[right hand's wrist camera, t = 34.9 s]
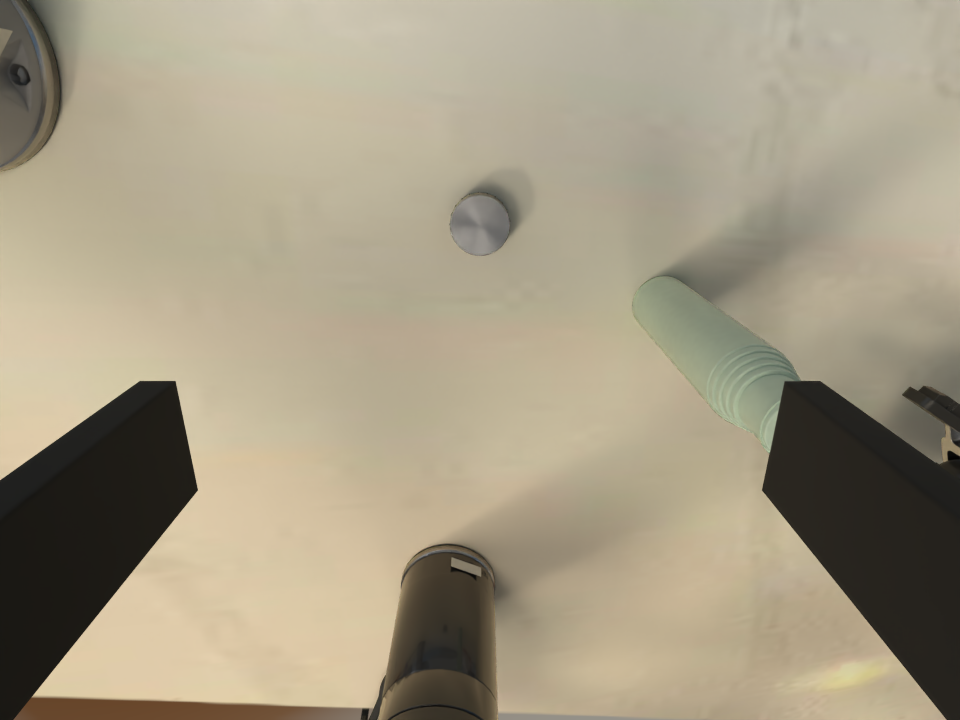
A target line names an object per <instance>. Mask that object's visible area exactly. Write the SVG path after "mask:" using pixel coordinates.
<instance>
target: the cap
mask: <svg viewBox="0 0 960 720" xmlns="http://www.w3.org/2000/svg"><path fill="white" fill-rule="evenodd" d="M507 213H508V211H507V210H506V209H505V207H504V205H503V203H502V202H500V201H499V200H498V199H497V198H496V197H494V196H492V195H490V194H488V193H487V194H486V193H479V192H478V193H474V194H469V195H468V196H466V197H464V198H462V199H461V201H460V202H459V203H458V204H457V205H455V209H454V211H453V213H452V214H451V216H452V217H451V221H450V230H451V234H452V237H453V239H454V241H455V243H456V244H457V245H458V246H459V247H460V248H461V249H462V250H463V251H465V252H467V253H469V254H472V255H477V256H484V255H488V254H491V253H493V252H495V251H497V250H498V249H499V248H500V247H501V246H502V245H503V244H504V243H505V241H506V239H507V237H508V234H509V231H510V219H509V217H508V214H507Z"/></svg>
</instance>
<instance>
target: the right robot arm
mask: <svg viewBox="0 0 960 720" xmlns="http://www.w3.org/2000/svg"><path fill="white" fill-rule="evenodd" d="M59 97H60V86H59V75H58V69H57V64H56V60H55V56H54V53H53V50H52V46H51V44H50V41H49V39H48V36H47V34H46V32H45V30H44V28H43V26H42V24H41V22H40V20H39V19H38V17H37V15H36V14H35V12H34V10H33V9H32V8H31V6H30V5H29V3H28V2H27V0H0V172H1V171H6V170H9V169H12V168H15V167H17V166H19V165H21V164H23V163H24V162H26V161H27V160H29V159H30V158H31V157H33V156H34V155H35V154H36V153H37V152H38V151H39V150H40V149H41V148H42V146H43V145H44V144H45V142H46V141H47V139H48V137H49V135H50V134H51V132H52V129H53V127H54V124H55V121H56V117H57V114H58V108H59ZM197 491H198V488H197V484H196V479H195V474H194V469H193V464H192V459H191V454H190V450H189V445H188V440H187V435H186V430H185V425H184V420H183V415H182V411H181V406H180V401H179V396H178V391H177V386H176V381H139V382H138V383H137V384H135V385H134V386H132V387H131V388H130V389H128V390H127V391H125V392H124V393H122V394H121V395H120V396H118V397H117V398H115V399H114V400H113V401H111V402H110V403H108V404H107V405H106V406H104V407H103V408H101V409H100V410H99V411H97V412H96V413H94V414H93V415H92V416H90V417H89V418H87V419H86V420H84V421H83V422H82V423H80V424H79V425H77V426H76V427H75V428H73V429H72V430H70V431H69V432H68V433H66V434H65V435H63V436H62V437H61V438H59V439H58V440H56V441H55V442H54V443H52V444H51V445H49V446H48V447H46V448H45V449H44V450H42V451H41V452H39V453H38V454H37V455H35V456H34V457H32V458H31V459H30V460H28V461H27V462H25V463H24V464H23V465H21V466H20V467H18V468H17V469H15V470H14V471H13V472H11V473H10V474H8V475H7V476H6V477H4V478H3V479H1V480H0V720H13V719H14V718H15V717H16V716H17V714H18V713H19V712H20V711H21V709H22V708H23V707H24V706H25V704H26V703H27V702H28V701H29V700H30V698H31V697H32V696H33V695H34V693H35V692H36V691H37V690H38V688H39V687H40V686H41V685H42V683H43V682H44V681H45V680H46V678H47V677H48V676H49V675H50V673H51V672H52V671H53V670H54V668H55V667H56V666H57V665H58V663H59V662H60V661H61V660H62V659H63V657H64V656H65V655H66V654H67V652H68V651H69V650H70V649H71V647H72V646H73V645H74V644H75V642H76V641H77V640H78V639H79V637H80V636H81V635H82V634H83V632H84V631H85V630H86V629H87V627H88V626H89V625H90V624H91V622H92V621H93V620H94V619H95V618H96V616H97V615H98V614H99V613H100V611H101V610H102V609H103V608H104V606H105V605H106V604H107V603H108V601H109V600H110V599H111V598H112V596H113V595H114V594H115V593H116V591H117V590H118V589H119V588H120V586H121V585H122V584H123V583H124V581H125V580H126V579H127V578H128V576H129V575H130V574H131V573H132V572H133V570H134V569H135V568H136V567H137V565H138V564H139V563H140V562H141V560H142V559H143V558H144V557H145V555H146V554H147V553H148V552H149V550H150V549H151V548H152V547H153V545H154V544H155V543H156V542H157V540H158V539H159V538H160V537H161V535H162V534H163V533H164V532H165V531H166V529H167V528H168V527H169V526H170V524H171V523H172V522H173V521H174V519H175V518H176V517H177V516H178V514H179V513H180V512H181V511H182V509H183V508H184V507H185V506H186V504H187V503H188V502H189V501H190V499H191V498H192V497H193V496H194V494H195V493H196V492H197ZM762 491H763V492H764V493H765V494H766V496H767V497H768V498H769V499H770V501H771V502H772V503H773V504H774V506H775V507H776V508H777V509H778V511H779V512H780V513H781V514H782V516H783V517H784V518H785V519H786V521H787V522H788V523H789V524H790V526H791V527H792V528H793V529H794V531H795V532H796V533H797V534H798V535H799V537H800V538H801V539H802V540H803V542H804V543H805V544H806V545H807V547H808V548H809V549H810V550H811V552H812V553H813V554H814V555H815V557H816V558H817V559H818V560H819V562H820V563H821V564H822V565H823V567H824V568H825V569H826V570H827V572H828V573H829V574H830V575H831V576H832V578H833V579H834V580H835V581H836V583H837V584H838V585H839V586H840V588H841V589H842V590H843V591H844V593H845V594H846V595H847V596H848V598H849V599H850V600H851V601H852V603H853V604H854V605H855V606H856V608H857V609H858V610H859V611H860V613H861V614H862V615H863V616H864V618H865V619H866V620H867V621H868V622H869V624H870V625H871V626H872V627H873V629H874V630H875V631H876V632H877V634H878V635H879V636H880V637H881V639H882V640H883V641H884V642H885V644H886V645H887V646H888V647H889V649H890V650H891V651H892V652H893V654H894V655H895V656H896V657H897V659H898V660H899V661H900V662H901V663H902V665H903V666H904V667H905V668H906V670H907V671H908V672H909V673H910V675H911V676H912V677H913V678H914V680H915V681H916V682H917V683H918V685H919V686H920V687H921V688H922V690H923V691H924V692H925V693H926V695H927V696H928V697H929V698H930V700H931V701H932V702H933V703H934V705H935V706H936V707H937V708H938V709H939V711H940V712H941V713H942V714H943V716H944V717H945V718H946V719H947V720H960V480H959V479H957V478H956V477H954V476H953V475H952V474H950V473H949V472H947V471H946V470H945V469H943V468H942V467H940V466H939V465H937V464H936V463H935V462H933V461H932V460H930V459H929V458H928V457H926V456H925V455H923V454H922V453H921V452H919V451H918V450H916V449H915V448H914V447H912V446H911V445H909V444H908V443H906V442H905V441H904V440H902V439H901V438H899V437H898V436H897V435H895V434H894V433H892V432H891V431H890V430H888V429H887V428H885V427H884V426H883V425H881V424H880V423H878V422H877V421H876V420H874V419H873V418H871V417H870V416H868V415H867V414H866V413H864V412H863V411H861V410H860V409H859V408H857V407H856V406H854V405H853V404H852V403H850V402H849V401H847V400H846V399H845V398H843V397H842V396H840V395H839V394H838V393H836V392H835V391H833V390H832V389H830V388H829V387H828V386H826V385H825V384H823V383H822V382H821V381H784V386H783V391H782V396H781V401H780V406H779V411H778V415H777V420H776V425H775V430H774V435H773V440H772V445H771V450H770V454H769V459H768V464H767V469H766V474H765V479H764V484H763V488H762Z"/></svg>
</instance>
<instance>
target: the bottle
mask: <svg viewBox="0 0 960 720" xmlns="http://www.w3.org/2000/svg"><path fill="white" fill-rule="evenodd" d="M632 310H633V314H634V317H635V319H636V321H637V322H638V323H639V324H640V326H641V327H642V328H643V329H644V330H645V331H646V333H647V334H648V335H649V336H650V337H651V338H652V340H653V341H654V342H655V343H656V344H657V345H658V347H659V348H660V349H661V350H662V351H663V352H664V353H665V355H666V356H667V357H668V358H669V359H670V360H671V362H672V363H673V364H674V365H675V366H676V367H677V369H678V370H679V371H680V372H681V373H682V374H683V375H684V377H685V378H686V379H687V380H688V381H689V382H690V384H691V385H692V386H693V387H694V388H695V389H696V391H697V392H698V393H699V394H700V395H701V396H702V397H703V399H704V400H705V401H706V402H707V403H708V404H709V406H710V407H711V408H712V409H713V410H714V411H715V412H716V413H717V414H718V415H719V416H721V417H722V418H723V419H724V420H726V421H728V422H730V423H732V424H734V425H736V426H738V427H740V428H742V429H744V430H746V431H748V432H751V433H753V434H754V435H755V436H756V437H757V438H758V439H759V440H760V441H761V444H762V446H763V448H764V449H765V450H766V451H767V452H768V453H769V454H770V450H771V445H772V440H773V435H774V430H775V425H776V420H777V415H778V411H779V406H780V401H781V396H782V391H783V386H784V381H801V380H800V378H799V376H798V375H797V373H796V371H795V369H794V368H793V366H792V364H791V363H790V362H789V360H788V359H787V358H786V357H785V356H784V355H783V354H782V353H781V352H780V351H778V350H777V349H775V348H774V347H773V346H771V345H770V344H768V343H767V342H766V341H764V340H763V339H761V338H760V337H758V336H757V335H756V334H754V333H753V332H751V331H750V330H749V329H747V328H746V327H744V326H743V325H742V324H740V323H739V322H737V321H736V320H734V319H733V318H732V317H730V316H729V315H727V314H726V313H725V312H723V311H722V310H720V309H719V308H717V307H716V306H715V305H713V304H712V303H710V302H709V301H708V300H706V299H705V298H703V297H702V296H700V295H699V294H698V293H696V292H695V291H693V290H692V289H691V288H689V287H688V286H686V285H685V284H684V283H682V282H681V281H679V280H678V279H675V278H673V277H668V276H660V277H656V278H653V279H650V280H649V281H647V282H646V283H644V284H643V285H642V286H641V287H640V288H639V289H638V291H637V292H636V294H635V296H634V299H633V305H632Z"/></svg>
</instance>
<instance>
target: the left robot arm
mask: <svg viewBox="0 0 960 720" xmlns="http://www.w3.org/2000/svg"><path fill="white" fill-rule="evenodd" d="M902 395H903V396H904V397H906V398H907V399H909V400H910V401H912V402H913V403H914V404H916V405H917V406H919V407H920V408H922V409H923V410H925V411H926V412H928V413H929V414H930V415H932V416H933V417H935V418H936V419H938V420H939V421H941V422H943V423H944V424H945V432H946V437H943V438H942V439H941V446H942V457H943V463H941V464H940V465H939V464H938V463H936V464H937V465H939V466H940V467H942V468H943V469H945V470H946V471H947V472H949V473H950V474H952V475H953V476H954V477H956V478H957V479H959V480H960V405H959V404H958V403H957V402H955V401H954V400H952V399H951V398H950V397H948V396H946V395H945V394H943V393H941V392H939V391H937V390H936V389H934V388H932V387H928V386H923V387H922V388H921V389H920V390H919V391H917V390H915V389H913V388H912V387H909V388H908V389H907V390H906V391H905V392H904V393H903V394H902ZM494 594H495V578H494V574H493V571H492V569H491V567H490V566H489V564H488V563H487V562H486V561H485V560H484V559H483V558H482V557H481V556H480V555H478V554H477V553H475V552H473V551H471V550H469V549H466V548H463V547H459V546H452V545H443V546H436V547H432V548H429V549H426V550H424V551H422V552H420V553H419V554H417V555H416V556H415V557H413V558H412V559H411V560H410V562H409V563H408V564H407V566H406V568H405V570H404V572H403V576H402V582H401V594H400V599H399V604H398V610H397V616H396V621H395V627H394V633H393V638H392V644H391V650H390V655H389V661H388V667H387V673H386V676H385V677H384V679H383V681H382V683H381V687H380V692H379V697H378V700H377V702H376V705H375V707H374V709H373V712H372V714H371V716H370V718H369V720H377V719H378V716H379V719H378V720H498V704H497V672H496V640H495V605H494ZM368 714H369V708H362V713H361V720H368Z"/></svg>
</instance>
